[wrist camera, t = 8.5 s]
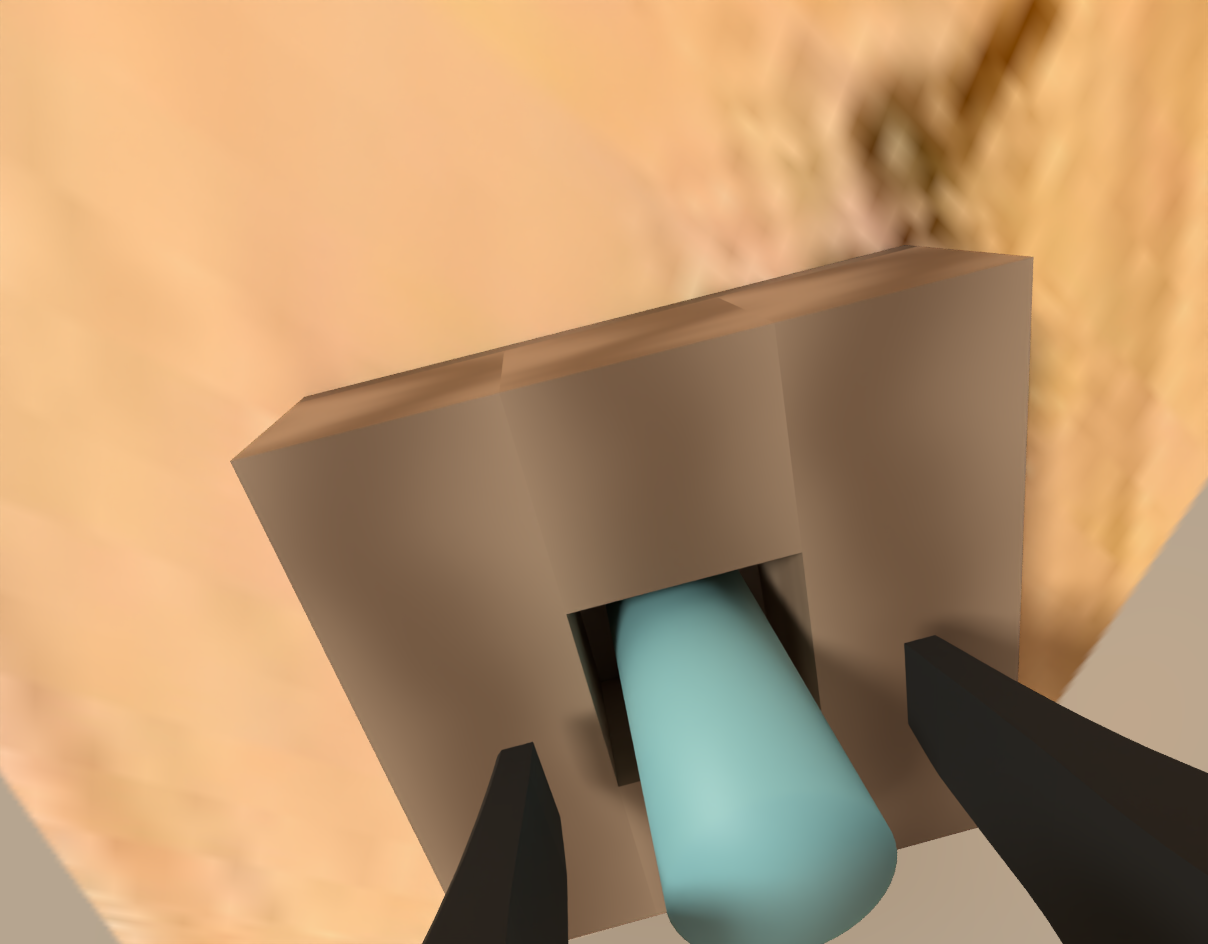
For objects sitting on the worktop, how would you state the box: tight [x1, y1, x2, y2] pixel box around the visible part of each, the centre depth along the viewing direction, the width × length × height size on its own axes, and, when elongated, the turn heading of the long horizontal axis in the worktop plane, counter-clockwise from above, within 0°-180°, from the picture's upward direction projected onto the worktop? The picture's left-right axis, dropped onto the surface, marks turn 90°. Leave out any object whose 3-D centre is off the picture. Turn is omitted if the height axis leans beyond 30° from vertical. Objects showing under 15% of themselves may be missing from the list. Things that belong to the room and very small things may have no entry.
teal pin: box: [605, 569, 897, 944], centre depth 13 cm, size 4×4×8 cm
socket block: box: [230, 245, 1033, 940], centre depth 15 cm, size 14×14×4 cm
